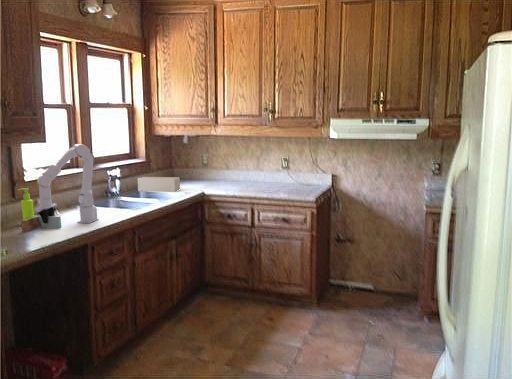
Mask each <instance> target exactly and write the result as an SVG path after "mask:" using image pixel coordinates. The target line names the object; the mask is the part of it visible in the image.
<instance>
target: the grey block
mask: <svg viewBox="0 0 512 379" xmlns="http://www.w3.org/2000/svg"><path fill="white" fill-rule="evenodd" d="M32 217H38V218H39V222H41V227H40V228H51V229H52V228H54V229H61V228H62V219H61V216H59V215H57V216H56V215H55V216H48V223H43V221H42V218H41V216H39V215H34V216H32Z"/></svg>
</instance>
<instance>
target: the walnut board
mask: <svg viewBox="0 0 512 379" xmlns="http://www.w3.org/2000/svg"><path fill="white" fill-rule="evenodd" d="M55 212H56V211H55ZM55 212H54V215H53V216H56V213H55ZM38 216H40V215H38ZM20 225H21V233H27V232H30V231H32V230H36V229H39V228H42V227H41V222H39V218H38V217H32V218H29V219H25V220H23V219H22V220H20Z"/></svg>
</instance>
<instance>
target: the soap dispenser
mask: <svg viewBox="0 0 512 379" xmlns="http://www.w3.org/2000/svg"><path fill="white" fill-rule="evenodd" d="M29 189H30V188H29V187H25V188H24V187H23V188H18V189H17V191H23V192H24V193H23V194H22V196H23V199H22V200H20V202H21V214H22V220H25V219H29V218H32V216H35V209H34V200H33V199H31V194H30V193H29Z"/></svg>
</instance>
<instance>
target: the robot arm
mask: <svg viewBox="0 0 512 379" xmlns="http://www.w3.org/2000/svg"><path fill="white" fill-rule="evenodd" d="M77 157H79V158H80V159H81V160H82V161H83V165H82V179H81V180H82V181H81V189H80V191H79V196H78V197H77V201H78V203H79V215H80V217H79V218H80V220H79V221H77V223H79V224H80V223H85V224H91V223H93V222H95V221H96V222H97V221H98V220H99V218H98V210H97V206H95V205H94V203H95V199H94V197H93V190H92V186H93V172H94V157H93V154H92V153H91V151H90V148H89V147H88V146H86V145H85V144H82V143H81V144H80V143H75V144H73V145H72V147H70V148H69V149H68V150H67V151H66V152H65V153H64V154H63V155H62V156H61V158H60V159H59V160H58V162H56V163H55V164H51V165H48V167H47V169H46V170H45V171H44V172H42V174H41V175H39V177H38V178H37V180H36V183H37V185H38V193H39V206H38V207H36V208H35V213H37V214H39V215H40V216H41V218H42V221H43V223H48V216H53V215H54V212H56V210H57V209H56V207H58V205H57V203H53V201H52V189H51V185H52V181H53V180H55V179H56V178H57V176H58V175H59V174H60V173H61V172H62V171H61V170H62V168H63V167H64V166H65V165H66V164H67V163H68V162H69V161H70V160H71V159H73V158H77ZM39 215H38V216H39Z"/></svg>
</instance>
